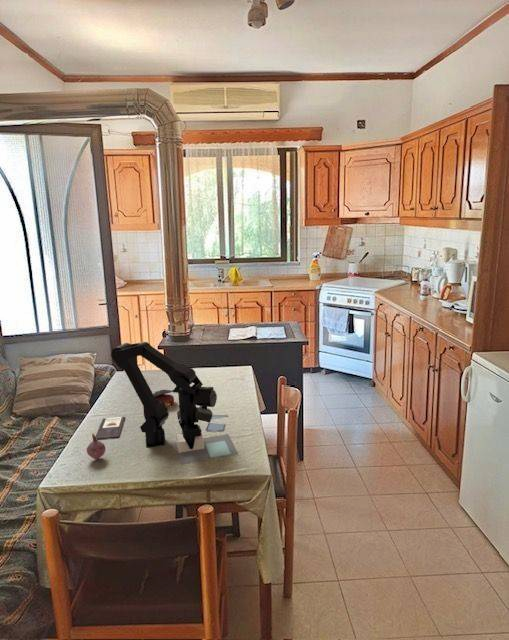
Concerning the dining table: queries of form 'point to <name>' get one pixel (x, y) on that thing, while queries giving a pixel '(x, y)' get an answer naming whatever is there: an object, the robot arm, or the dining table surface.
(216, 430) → the smartphone
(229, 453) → the mat
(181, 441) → the card box
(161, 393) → the canned food
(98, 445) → the vegetable
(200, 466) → the dining table surface
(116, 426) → the chocolate bar
